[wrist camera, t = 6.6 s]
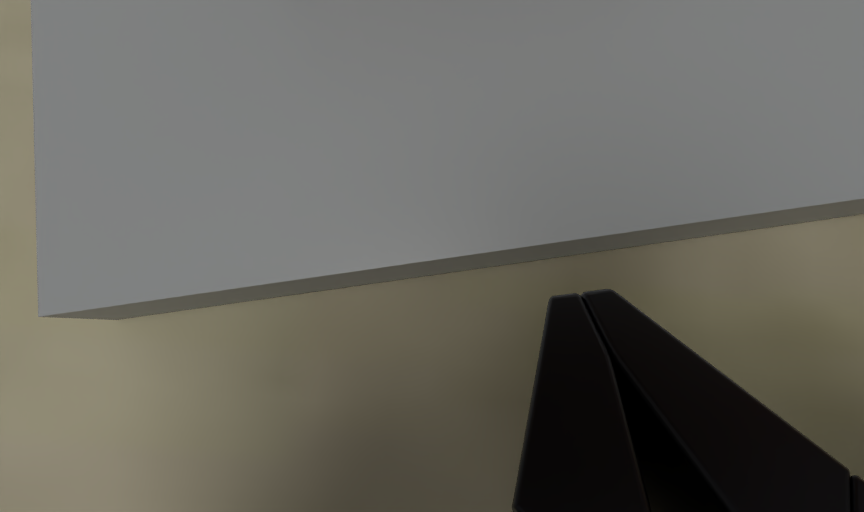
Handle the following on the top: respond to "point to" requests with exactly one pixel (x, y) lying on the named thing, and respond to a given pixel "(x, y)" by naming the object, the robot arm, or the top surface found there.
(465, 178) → the deck
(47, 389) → the top surface
